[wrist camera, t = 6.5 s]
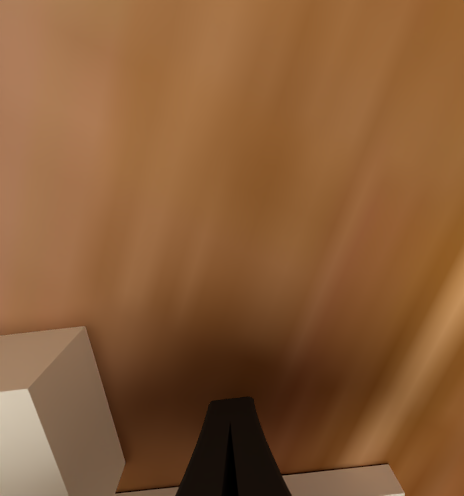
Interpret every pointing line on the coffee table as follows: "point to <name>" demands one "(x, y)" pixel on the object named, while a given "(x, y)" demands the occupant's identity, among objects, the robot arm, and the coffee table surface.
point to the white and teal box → (55, 418)
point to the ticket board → (325, 483)
